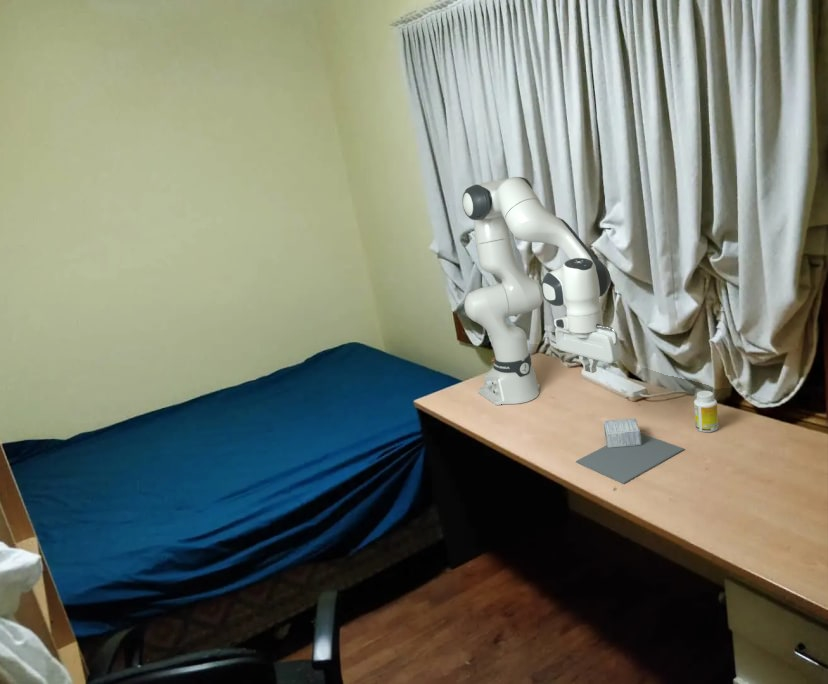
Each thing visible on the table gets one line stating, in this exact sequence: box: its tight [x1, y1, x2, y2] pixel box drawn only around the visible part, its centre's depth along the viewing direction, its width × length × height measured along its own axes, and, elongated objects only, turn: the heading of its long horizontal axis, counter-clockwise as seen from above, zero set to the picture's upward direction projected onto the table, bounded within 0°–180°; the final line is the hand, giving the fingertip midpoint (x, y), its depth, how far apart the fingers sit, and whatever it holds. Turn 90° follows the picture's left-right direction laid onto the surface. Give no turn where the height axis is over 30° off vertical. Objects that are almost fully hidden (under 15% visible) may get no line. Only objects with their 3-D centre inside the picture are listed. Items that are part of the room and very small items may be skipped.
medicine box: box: [603, 418, 641, 448], centre depth 171 cm, size 8×4×9 cm
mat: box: [575, 432, 685, 485], centre depth 163 cm, size 16×22×1 cm
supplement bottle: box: [693, 390, 719, 433], centre depth 168 cm, size 6×6×10 cm
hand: (590, 371), depth 167 cm, fingers closed
